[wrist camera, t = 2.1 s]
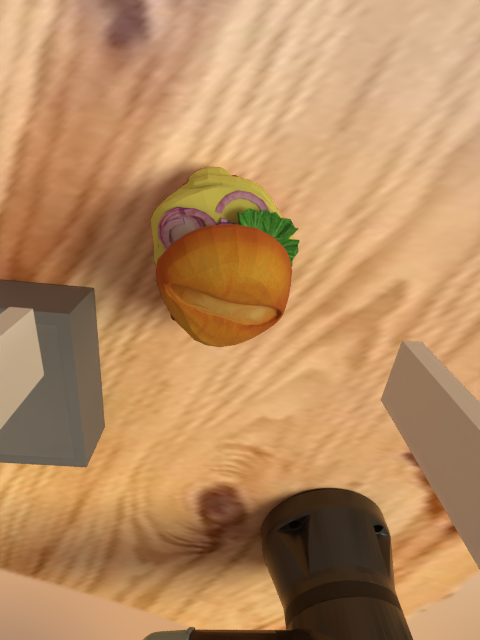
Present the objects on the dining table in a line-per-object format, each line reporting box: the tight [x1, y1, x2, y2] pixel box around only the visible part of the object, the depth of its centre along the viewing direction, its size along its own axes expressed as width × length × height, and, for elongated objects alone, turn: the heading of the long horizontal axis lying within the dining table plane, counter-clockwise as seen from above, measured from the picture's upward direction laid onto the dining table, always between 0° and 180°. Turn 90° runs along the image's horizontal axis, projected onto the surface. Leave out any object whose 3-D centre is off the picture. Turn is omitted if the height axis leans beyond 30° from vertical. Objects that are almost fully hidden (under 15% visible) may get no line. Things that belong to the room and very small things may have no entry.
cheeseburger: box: [150, 167, 299, 347], centre depth 25 cm, size 10×11×10 cm
